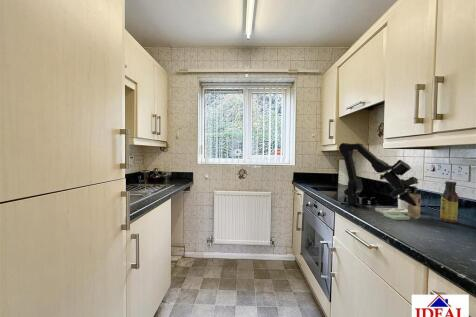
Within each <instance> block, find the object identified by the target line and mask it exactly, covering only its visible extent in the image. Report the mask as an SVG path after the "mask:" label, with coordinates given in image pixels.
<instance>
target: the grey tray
mask: <svg viewBox="0 0 476 317" xmlns="http://www.w3.org/2000/svg"><path fill="white" fill-rule="evenodd" d="M389 209H392V210H395V211H398V212H399V213H400V214H403V215H406V216H408V210H407V209H404V208H398V207H397V208H393V207H391V208H389Z"/></svg>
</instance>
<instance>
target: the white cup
mask: <svg viewBox="0 0 476 317" xmlns="http://www.w3.org/2000/svg"><path fill="white" fill-rule="evenodd" d="M398 197H400V196H399V195H398V196H397V208H404V209H407V210H408V203H407V202H405V201H403V200H401V199H398Z"/></svg>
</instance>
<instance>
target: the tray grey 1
mask: <svg viewBox="0 0 476 317" xmlns="http://www.w3.org/2000/svg"><path fill="white" fill-rule="evenodd" d="M374 210H375V212H377V213H379V214H382V215H384V213H399V212H398V211H395V210H392V209H390V208H389V207H388V208H387V207H385V208H384V207H378V208H377V207H375V209H374Z"/></svg>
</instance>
